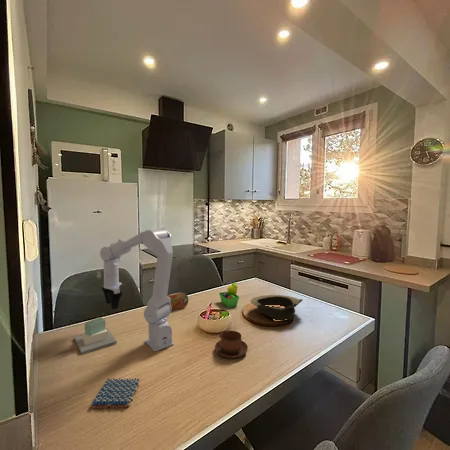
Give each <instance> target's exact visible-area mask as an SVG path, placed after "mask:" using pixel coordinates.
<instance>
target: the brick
mask: <svg viewBox="0 0 450 450" xmlns="http://www.w3.org/2000/svg"><path fill="white" fill-rule="evenodd" d="M106 328H107V327H106V318H105V319H104V318H102V317H96V318H94V319H92V320H89V321H86V322H84V331H85V333H86V334H88V335H90V336H92V335H94V334H96V333H98V332H101V331H103V330H105V329H106Z"/></svg>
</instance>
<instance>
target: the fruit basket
mask: <svg viewBox="0 0 450 450" xmlns="http://www.w3.org/2000/svg"><path fill="white" fill-rule="evenodd" d="M237 293H238V284H237V283H236V282H232V283H231V284H230V285H228V287H227V291H222V292H218V295H219V297H220V301H221V303H222V304H223V305H224V306H226V307H227V308H231V307H237V306H238V302H239V299H240V296H239V295H238V294H237Z"/></svg>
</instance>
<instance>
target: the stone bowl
mask: <svg viewBox="0 0 450 450" xmlns="http://www.w3.org/2000/svg"><path fill="white" fill-rule="evenodd" d="M302 302H303V298H299V299H298V298H297V297H293V296H290V295H283V294H269V295H259V296H256V297H252V298H251V300H250V303H251V304H253V305H254V306H255V307H257V310H258V311H259V312H260V313H263V315H266V316H267V317H271V319H272V318H273V319H275V320H285V319H290V318H291V319H293V317H294V315H295V313H296V307H297V306H298V305H299V304H300V303H302ZM265 305H280V306H284V307H285V308H280V307H274V306H272V307H269V306H265ZM291 319H290V320H291Z"/></svg>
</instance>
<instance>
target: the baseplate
mask: <svg viewBox="0 0 450 450" xmlns="http://www.w3.org/2000/svg"><path fill="white" fill-rule="evenodd" d="M105 328H106V329H105V330H103V331H101V332H98V333H96V334H94V335H92V336H90V335H88V334H86V333H85V330H82V331H81V334H79V335H75V336H73V337H74V342H75V343H76V345H77V348H78V350H79V352H80V355H81V356H82V355H84V354H85V355H86V354H88V353H93V352H94V351H98V350H101V349H104V348H107V347H110V346H114V345H117V340H116V339H115V337H114V336H113V334H112V333H111V332H110V331H109V329H108V328H107V327H105Z"/></svg>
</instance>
